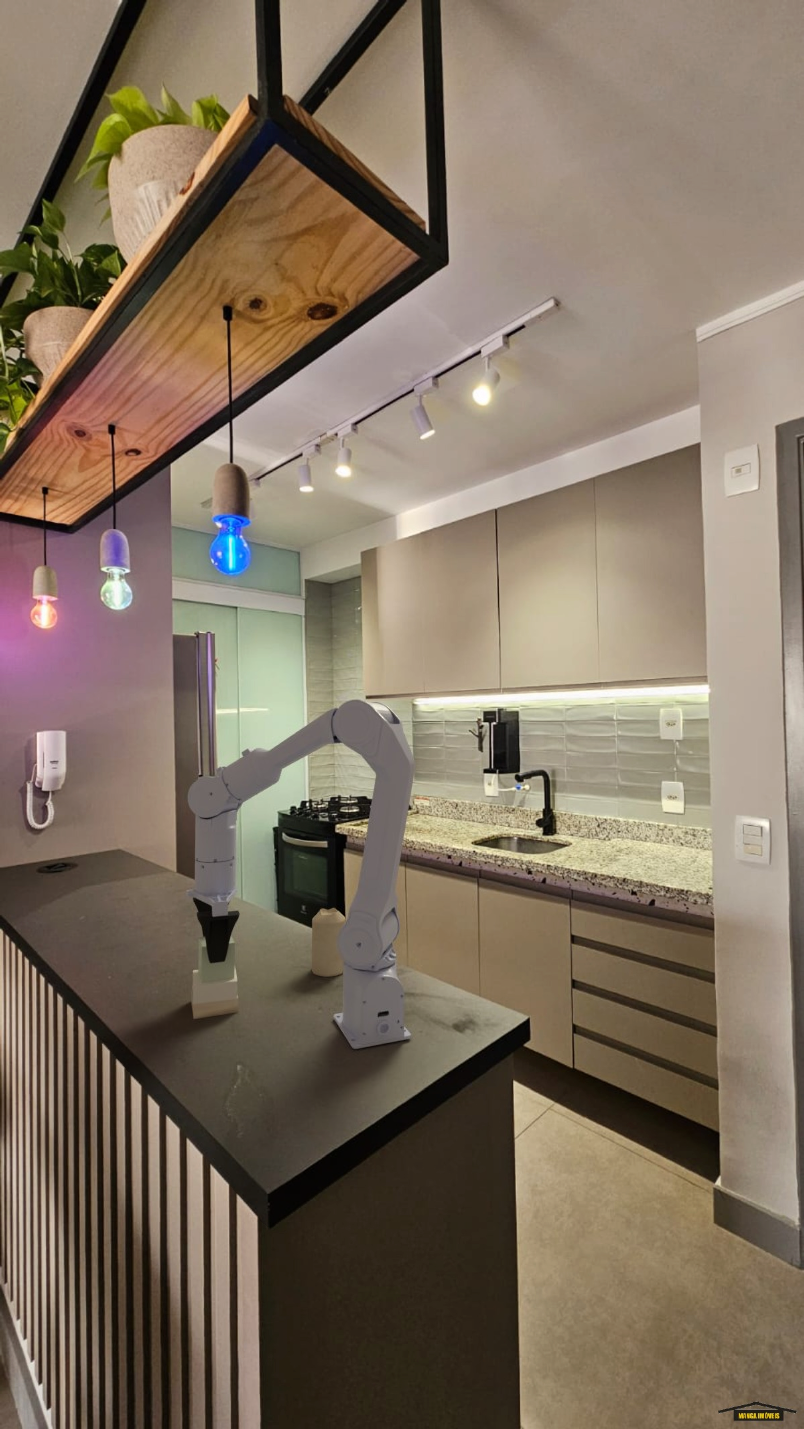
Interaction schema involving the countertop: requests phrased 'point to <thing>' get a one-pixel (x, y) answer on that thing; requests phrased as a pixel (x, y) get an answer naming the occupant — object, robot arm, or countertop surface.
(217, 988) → the tower top
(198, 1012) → the tower base
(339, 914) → the candle
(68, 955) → the countertop surface
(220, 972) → the sage block
